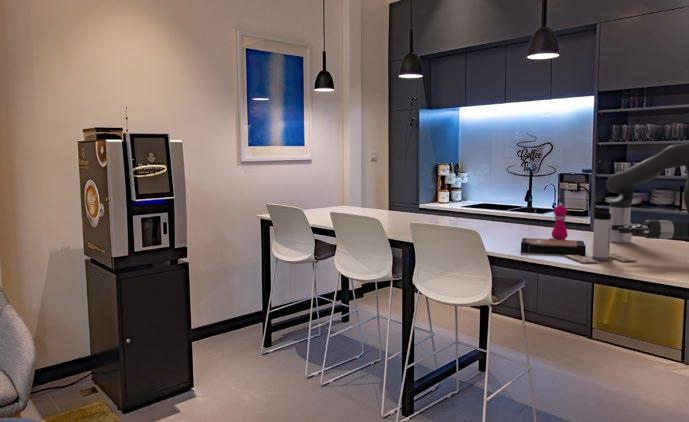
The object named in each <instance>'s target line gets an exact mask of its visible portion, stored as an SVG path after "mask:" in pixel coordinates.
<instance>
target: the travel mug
mask: <svg viewBox="0 0 689 422" xmlns="http://www.w3.org/2000/svg"><path fill="white" fill-rule="evenodd" d="M593 213H594V218H593V219H594V220H593V238H592V240H593V241H592V256H591V257H592V258H593V259H597V260H608V259H609V254H611V253H610V252H611V251H610V250H611V249H610V248H611V242H610V232H611V213H610V212H605V211H598V210H593ZM609 213H610V214H609Z"/></svg>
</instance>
